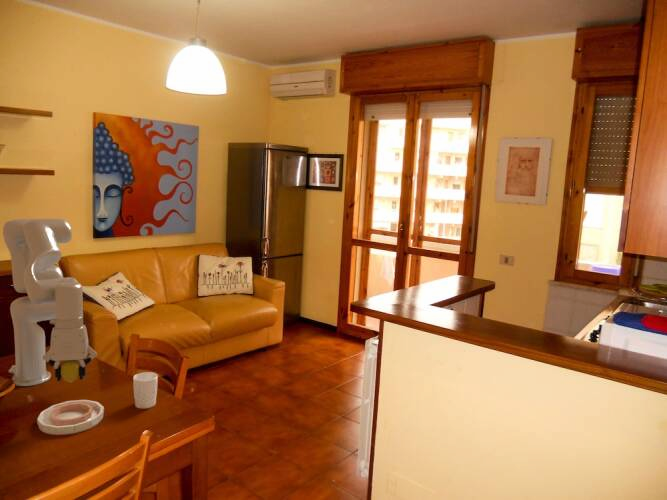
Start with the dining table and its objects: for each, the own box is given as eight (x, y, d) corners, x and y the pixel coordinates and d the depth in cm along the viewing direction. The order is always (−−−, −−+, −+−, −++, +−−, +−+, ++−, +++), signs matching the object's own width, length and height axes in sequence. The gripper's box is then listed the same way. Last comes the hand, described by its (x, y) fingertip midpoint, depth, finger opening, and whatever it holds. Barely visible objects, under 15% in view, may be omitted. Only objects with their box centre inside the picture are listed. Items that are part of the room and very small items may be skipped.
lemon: (84, 380, 157) (84, 355, 156) (73, 387, 151) (73, 362, 150) (68, 378, 157) (67, 354, 156) (56, 385, 152) (56, 360, 151)
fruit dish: (24, 429, 149) (23, 420, 149) (68, 403, 167) (67, 395, 166) (75, 439, 146) (75, 429, 145) (115, 411, 163) (115, 403, 163)
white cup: (162, 401, 172) (162, 374, 171) (147, 411, 165) (147, 382, 163) (144, 397, 174) (144, 370, 173) (128, 406, 167) (127, 378, 166)
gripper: (34, 327, 145) (36, 385, 148) (98, 325, 151) (99, 381, 153) (40, 320, 153) (42, 376, 155) (101, 318, 158) (102, 372, 160)
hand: (70, 378), depth 154 cm, fingers closed on lemon, 5 cm apart
